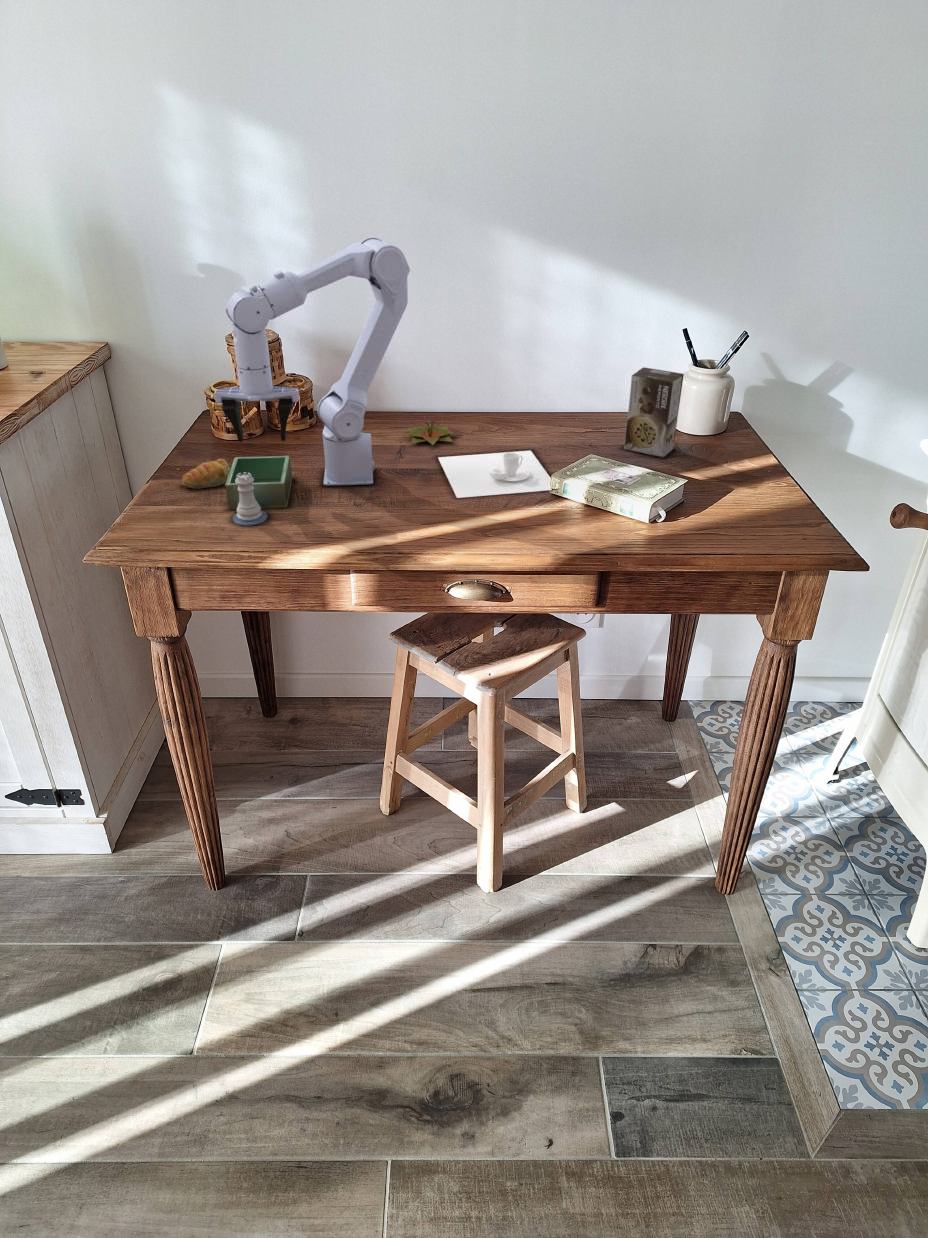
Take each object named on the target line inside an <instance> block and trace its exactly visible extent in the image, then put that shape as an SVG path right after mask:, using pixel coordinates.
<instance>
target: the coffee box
mask: <svg viewBox="0 0 928 1238" xmlns="http://www.w3.org/2000/svg"><path fill="white" fill-rule="evenodd" d="M684 375H685V374H684V373H682V372H675V371H669V370H662V369H657V368H651V367H644V366H643V367H641V368H639V370H637V371H636V372H635V373H633V374H631V379H630V388H629V389H630V390H629V402H628V409H627V420H626V427H625V428H626V429H625V436H624V437H625V438H624V445H623V446H624V447H623V449H624V450H626V451H630V452H631V451H632V452H636V453H641V454H645V455H650V456H655V457H659V458H664V457H665V456H667V455H668V454H669V453H670V452H672V451H673V450H674V447H675V438H676V431H677V424H678V417H679V411H680V404H681V395H682V390H683V383H684Z"/></svg>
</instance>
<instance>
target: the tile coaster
mask: <svg viewBox="0 0 928 1238" xmlns="http://www.w3.org/2000/svg"><path fill="white" fill-rule="evenodd" d="M261 512H262V515H261V517H260V518H259V519H257V520H254V521H242V520H240V519H239V518H238V517H237V513H235V514H234V515H233V516H232V521H233V523H234V524H236V525H239V526H244V527H251V526H256V525H257V526H258V525H260V524H262V523H264V522H265V521H266V520H267V519H268V514H267V512H266V511H264V510H261Z"/></svg>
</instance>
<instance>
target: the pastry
mask: <svg viewBox="0 0 928 1238" xmlns="http://www.w3.org/2000/svg"><path fill="white" fill-rule="evenodd" d="M230 470H231V468H230V465H229V463H228V461H227V460H225V459H224V458H217V460H214V461H207V462H202V463H200V464H199V465H198V466H196V467H195V468H191V469H189V471H187V472H186V473H184V474H183V475H182V478H181V484H182V486H184V487H187V488H190V489H194V490H196V489H198V490H200V489H204V488H205V489H208V488H214V487H219V486H221V485H226V482H227V479H228V476H229V473H230Z"/></svg>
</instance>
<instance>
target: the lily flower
mask: <svg viewBox="0 0 928 1238" xmlns="http://www.w3.org/2000/svg"><path fill="white" fill-rule="evenodd" d="M423 418H424V419H425V420H426V421H425V420H423V419H422V418H419V420H420V421H421V424H420V426H421V427H411V428H410V427H408V428H407V429H408V430H409V432H408V433H406V435H404V437H411V436H412V438H411V444H416V443H421V442H428V443H429V444H431V446H434V445H435V444H436V442H438V441H439V442H440V441H441V442H442V441H443V442H450V443H452V442H453V440H452V437H450V436H448V435H456V433H454V432H453V431H451V430H449V428H448V426H438V425H440V424H441V422H439V420H438V417H435V416H433V417H432V418H431V421H430V420H428V419H427V418H426V416H423ZM437 422H438V423H437ZM436 423H437V424H436ZM435 424H436V425H435Z"/></svg>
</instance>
